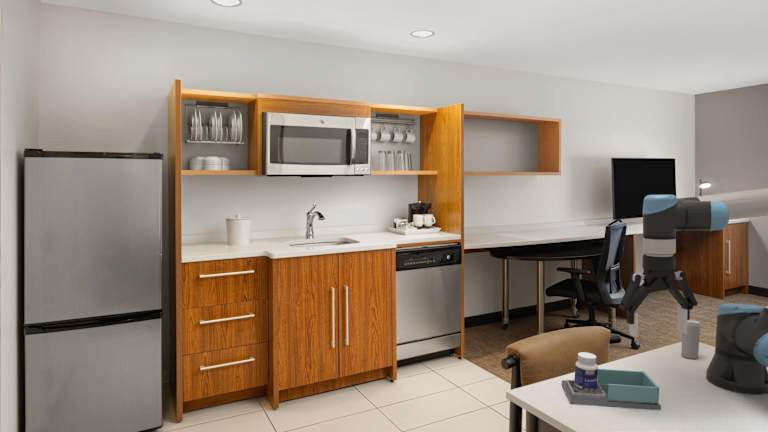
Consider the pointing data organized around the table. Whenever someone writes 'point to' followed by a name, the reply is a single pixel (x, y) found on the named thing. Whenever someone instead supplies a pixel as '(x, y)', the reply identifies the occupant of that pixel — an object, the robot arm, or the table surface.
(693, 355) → the beverage can
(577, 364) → the pill bottle
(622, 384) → the housing
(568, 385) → the plate
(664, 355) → the table surface
